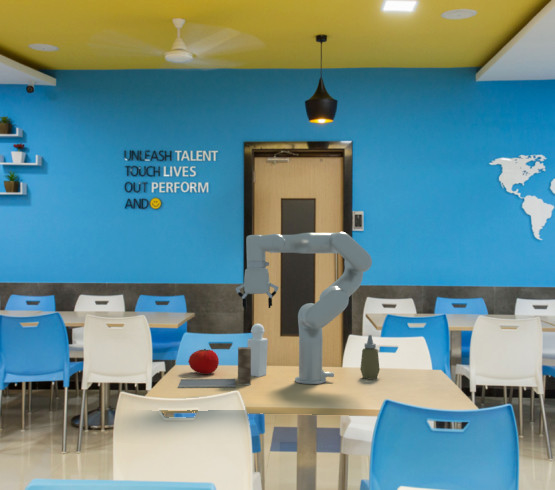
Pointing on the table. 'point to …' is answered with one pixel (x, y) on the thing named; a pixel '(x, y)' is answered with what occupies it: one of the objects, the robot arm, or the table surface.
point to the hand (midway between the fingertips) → (257, 308)
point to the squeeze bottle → (370, 360)
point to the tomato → (204, 361)
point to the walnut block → (244, 365)
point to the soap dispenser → (258, 351)
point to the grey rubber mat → (206, 383)
